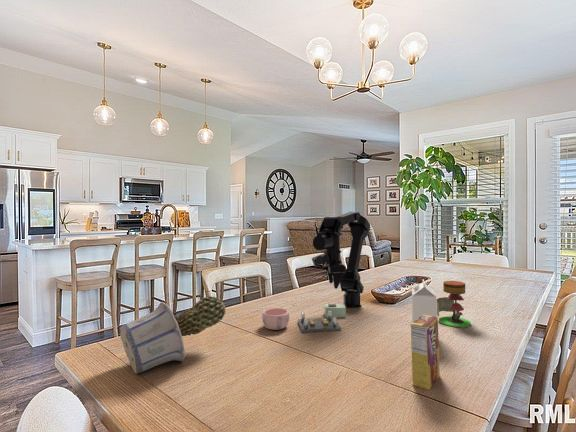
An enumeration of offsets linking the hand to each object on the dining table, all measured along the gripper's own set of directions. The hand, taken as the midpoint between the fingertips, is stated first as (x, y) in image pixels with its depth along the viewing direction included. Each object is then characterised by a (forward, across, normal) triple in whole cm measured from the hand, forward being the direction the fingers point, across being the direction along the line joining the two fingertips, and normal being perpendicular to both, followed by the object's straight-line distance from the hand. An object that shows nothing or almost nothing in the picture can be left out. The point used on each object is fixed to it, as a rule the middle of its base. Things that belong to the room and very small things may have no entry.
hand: (333, 285), depth 135 cm
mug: (+12, +10, -24) cm, 29 cm away
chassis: (+12, +12, -8) cm, 19 cm away
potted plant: (+12, +33, -54) cm, 64 cm away
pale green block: (+12, 0, 0) cm, 12 cm away
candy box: (+12, +53, +12) cm, 56 cm away
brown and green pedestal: (+12, +14, +43) cm, 47 cm away
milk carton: (+12, +28, +24) cm, 39 cm away
